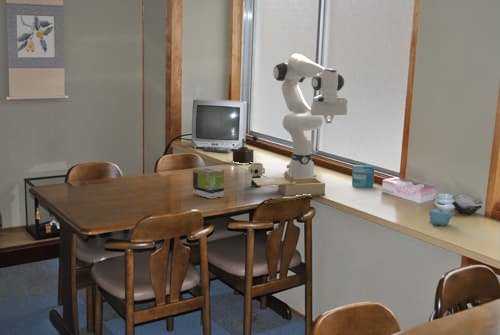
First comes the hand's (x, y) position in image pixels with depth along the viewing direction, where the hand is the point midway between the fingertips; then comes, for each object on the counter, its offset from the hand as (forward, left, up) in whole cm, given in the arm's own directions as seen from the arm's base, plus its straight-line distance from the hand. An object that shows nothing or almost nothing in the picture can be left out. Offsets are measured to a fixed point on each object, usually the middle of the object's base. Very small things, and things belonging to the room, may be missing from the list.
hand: (328, 123), depth 357 cm
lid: (+7, -33, -30) cm, 45 cm away
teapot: (+78, +29, -37) cm, 91 cm away
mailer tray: (+7, -17, -37) cm, 41 cm away
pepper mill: (-81, -30, -37) cm, 94 cm away
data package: (-1, +22, -37) cm, 43 cm away
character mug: (-12, -38, -37) cm, 55 cm away
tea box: (+5, -68, -37) cm, 78 cm away
